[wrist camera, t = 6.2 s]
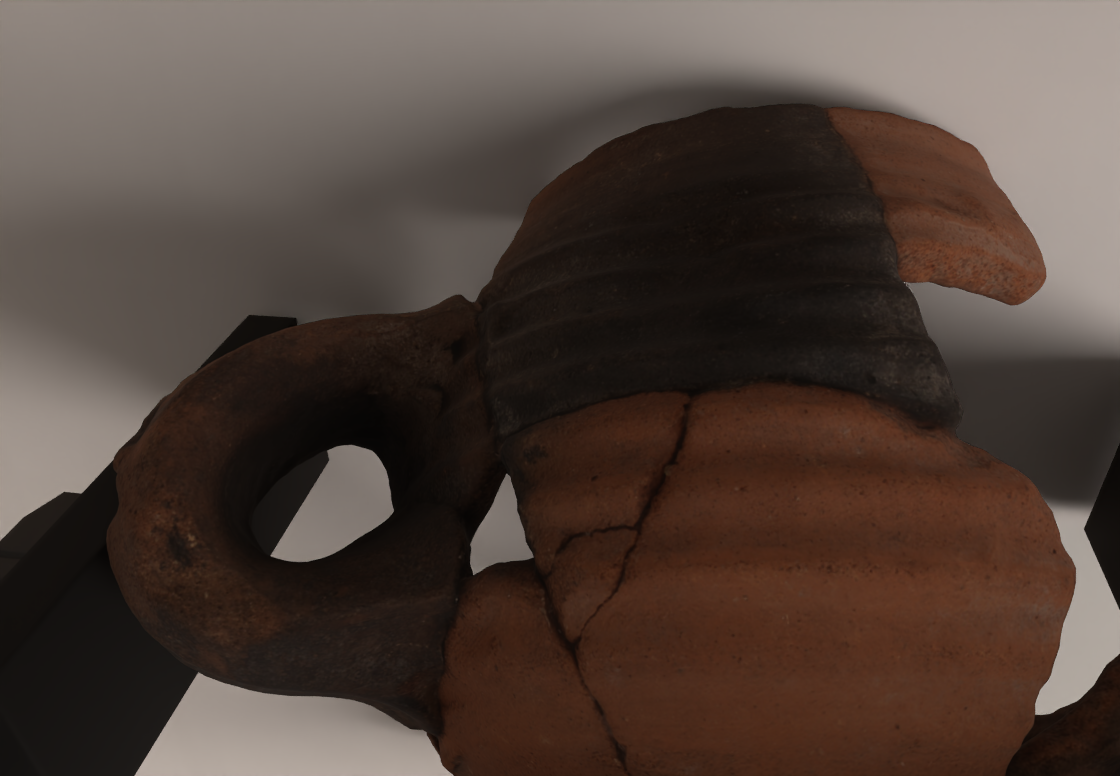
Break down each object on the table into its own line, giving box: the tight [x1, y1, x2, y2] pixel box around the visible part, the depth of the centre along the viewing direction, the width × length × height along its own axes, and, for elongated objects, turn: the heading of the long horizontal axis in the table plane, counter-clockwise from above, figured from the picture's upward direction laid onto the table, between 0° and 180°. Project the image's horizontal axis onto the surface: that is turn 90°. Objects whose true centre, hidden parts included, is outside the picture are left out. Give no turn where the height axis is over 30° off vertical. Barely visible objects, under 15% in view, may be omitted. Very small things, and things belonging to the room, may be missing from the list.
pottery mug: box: [106, 104, 1120, 776], centre depth 11 cm, size 12×9×8 cm
